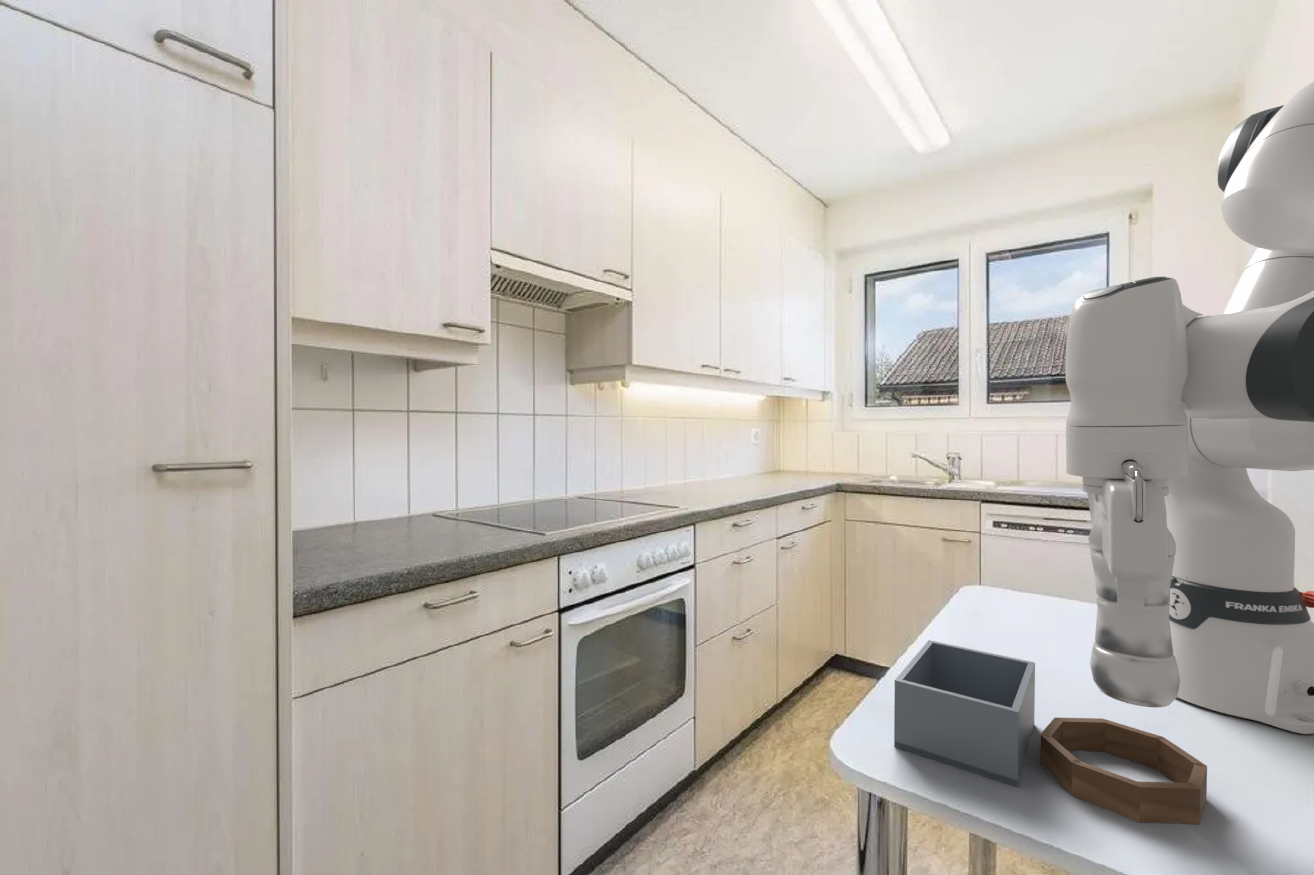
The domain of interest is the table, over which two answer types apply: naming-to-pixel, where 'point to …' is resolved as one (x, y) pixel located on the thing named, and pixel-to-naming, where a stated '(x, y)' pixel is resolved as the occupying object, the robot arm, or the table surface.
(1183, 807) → the collar
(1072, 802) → the table surface
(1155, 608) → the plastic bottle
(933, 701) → the bin
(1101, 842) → the table surface
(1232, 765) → the table surface
